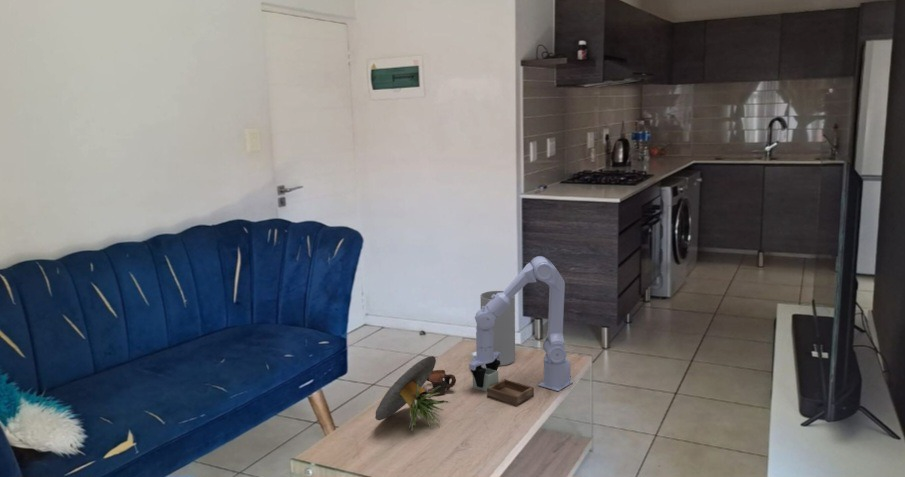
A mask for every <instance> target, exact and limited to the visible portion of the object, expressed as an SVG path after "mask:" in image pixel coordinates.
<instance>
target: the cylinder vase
mask: <svg viewBox="0 0 905 477" xmlns="http://www.w3.org/2000/svg"><path fill="white" fill-rule="evenodd" d="M504 291H505V290H490V291H486V292H483V293H481V294H480V310H482V307H483V306H485V305H486V304H487V303H488V302H489V301H490V300H491V299H492V297H491V296H492V295H493V294H494V295H496V294H497V293H501V292H504ZM515 295H516V294H515ZM515 295H514V296H513V297H512V298H511V299H510V305H509V307H508V308H507V309H506V310H505V311H504V312H503V313H502V314H501V315H500V316H499V317H498V318H497V319H495V323H494V326H493V345H494V352H496V351H497V352H500V356H501V358H499V359H498V358H497V360H499V361H500V365H499V367H501V366H508V365H511V364H512V363H514V361H515V360H516V296H515Z"/></svg>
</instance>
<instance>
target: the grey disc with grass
mask: <svg viewBox="0 0 905 477" xmlns="http://www.w3.org/2000/svg"><path fill="white" fill-rule="evenodd" d="M436 363H437V359H436V357H435V356H434V355H433V356H432V355H430V356H427V357H424V358H422V359H421V360H419V361H418V362H416V363H415V364H413V365H412V366H411V367H410V368H409V369H407V370H406V371H405V372H404V373H403V374H402V375H401V376H400V377H398V379H397V380H396V381H395V382H394V383H393V385H391V386H390V388H389V389H388V390H387V391H386V392H385V394H384V396H383V397H382V398H381V401H380V402H379V405H378V407H377V408H376V410H375V417H374V418H375V420H376V421H382V420H385V419H387V418H389V417H390V416H392V415H394V414H396V413H397V412H398V411H399V410H401V408H403V407H404V406H405V405H406V404H407V405H408V406H409V407H410V411H409V417H410V420H409V421H410V423H409V426H408V429H407V431H409V429H410V428H411V432H413V431H414V427H415V426H417V421H416V417H417V418H418V419H419V420H420V419H422V417H423V418H424V420H425V421H426V422H427V424H428V425H429V426H431V423H430V422H429V418H430V419H431V420H432V421H433V423H435V424H436V427H438V428H441V427H440V425H439V424H438V423H437V421H438V422H440V419H438V418H437V417H436V416H438V417H440V415H439V414H436V412H437V413H438V411H437V410H441V411H444V408H441V407H439V406H436V405H443V404H451V402H449V401H448V400H444V399H443V400H437V399H432V396H437V395H436V394H440V393H434V394H431V393H433V392H434V391H435V390H437V389H438V388H439V387H441V386H438V387H436V388H435V389H433V390H432V391H429V392H428V391H426V389H424V388H423V386H424V384H425V383H426V382H427V381H426V380H427V379H428V378H429V376H430V375H431V373H432V371H434V368H435V366H436ZM430 394H431V395H430ZM435 409H436V410H435ZM434 411H435V412H434ZM421 415H422V416H421ZM435 415H436V416H435ZM435 419H436V421H435Z"/></svg>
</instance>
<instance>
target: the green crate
mask: <svg viewBox="0 0 905 477" xmlns="http://www.w3.org/2000/svg"><path fill="white" fill-rule="evenodd" d="M482 368H483V369H486V372H485V375H484V383H483V387H482V388H480V387H477V385H476V381H475V378H474V375H473V373H472V372H471V374H472V389H475V390H479V391H481V392H484V393H487V388H488V387H490V386H492V385H494V384H496V383H498V382H499V370H497V371H496V370H492V369H489V368H485V367H482Z"/></svg>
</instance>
